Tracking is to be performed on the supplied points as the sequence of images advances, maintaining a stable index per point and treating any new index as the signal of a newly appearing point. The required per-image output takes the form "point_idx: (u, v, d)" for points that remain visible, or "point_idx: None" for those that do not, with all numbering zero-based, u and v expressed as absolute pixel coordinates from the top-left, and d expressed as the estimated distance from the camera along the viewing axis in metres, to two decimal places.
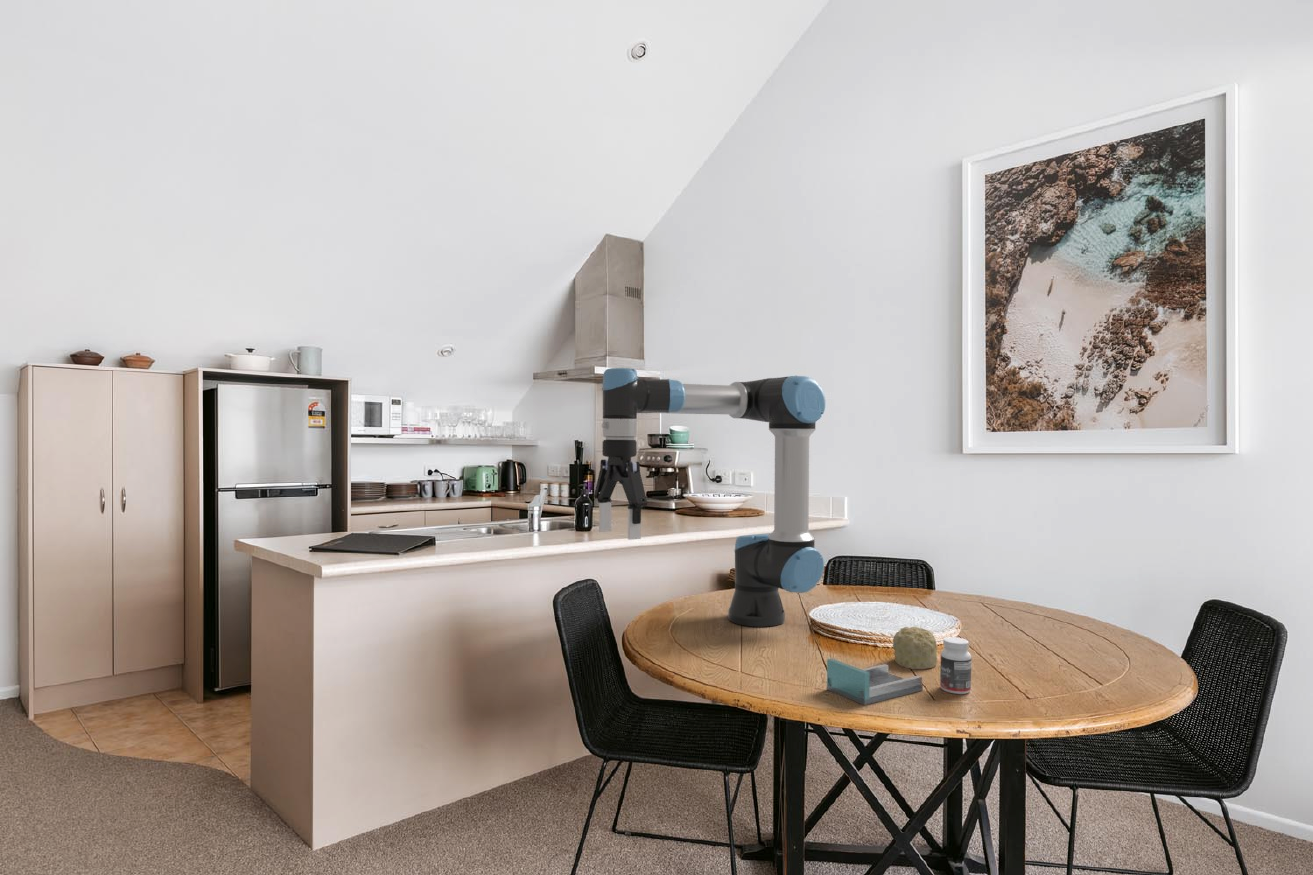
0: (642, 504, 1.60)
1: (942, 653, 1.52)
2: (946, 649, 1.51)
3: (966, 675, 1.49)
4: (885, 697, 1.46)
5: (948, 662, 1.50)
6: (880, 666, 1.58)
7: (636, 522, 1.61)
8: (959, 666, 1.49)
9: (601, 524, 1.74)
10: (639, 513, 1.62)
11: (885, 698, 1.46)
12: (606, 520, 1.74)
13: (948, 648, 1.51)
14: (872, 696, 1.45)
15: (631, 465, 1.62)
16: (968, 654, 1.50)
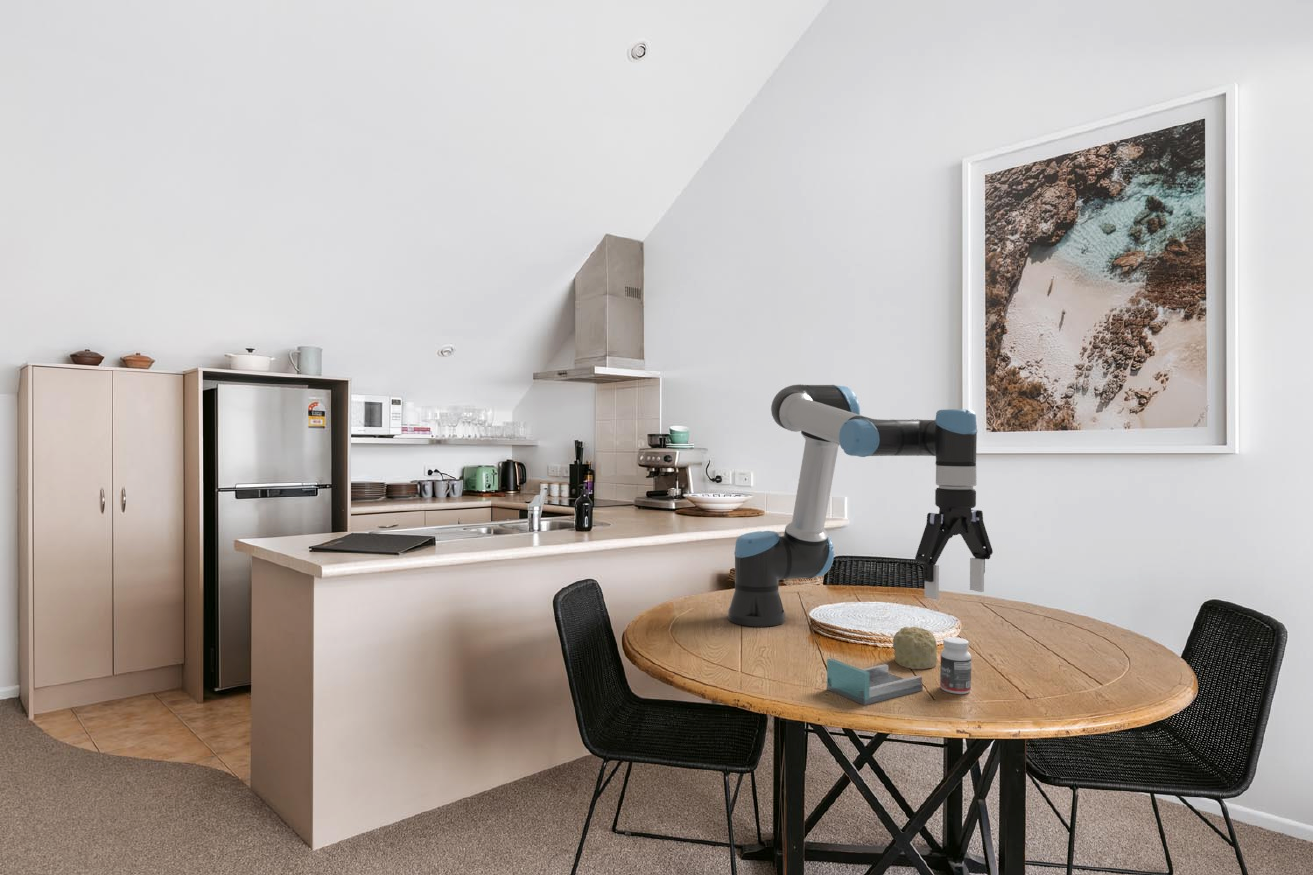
0: (920, 560, 1.46)
1: (942, 653, 1.52)
2: (946, 649, 1.51)
3: (966, 675, 1.49)
4: (885, 697, 1.46)
5: (948, 662, 1.50)
6: (880, 666, 1.58)
7: (925, 579, 1.48)
8: (959, 666, 1.49)
9: (971, 581, 1.56)
10: (928, 570, 1.47)
11: (885, 698, 1.46)
12: (976, 578, 1.55)
13: (948, 648, 1.51)
14: (872, 696, 1.45)
15: (928, 516, 1.49)
16: (968, 654, 1.50)
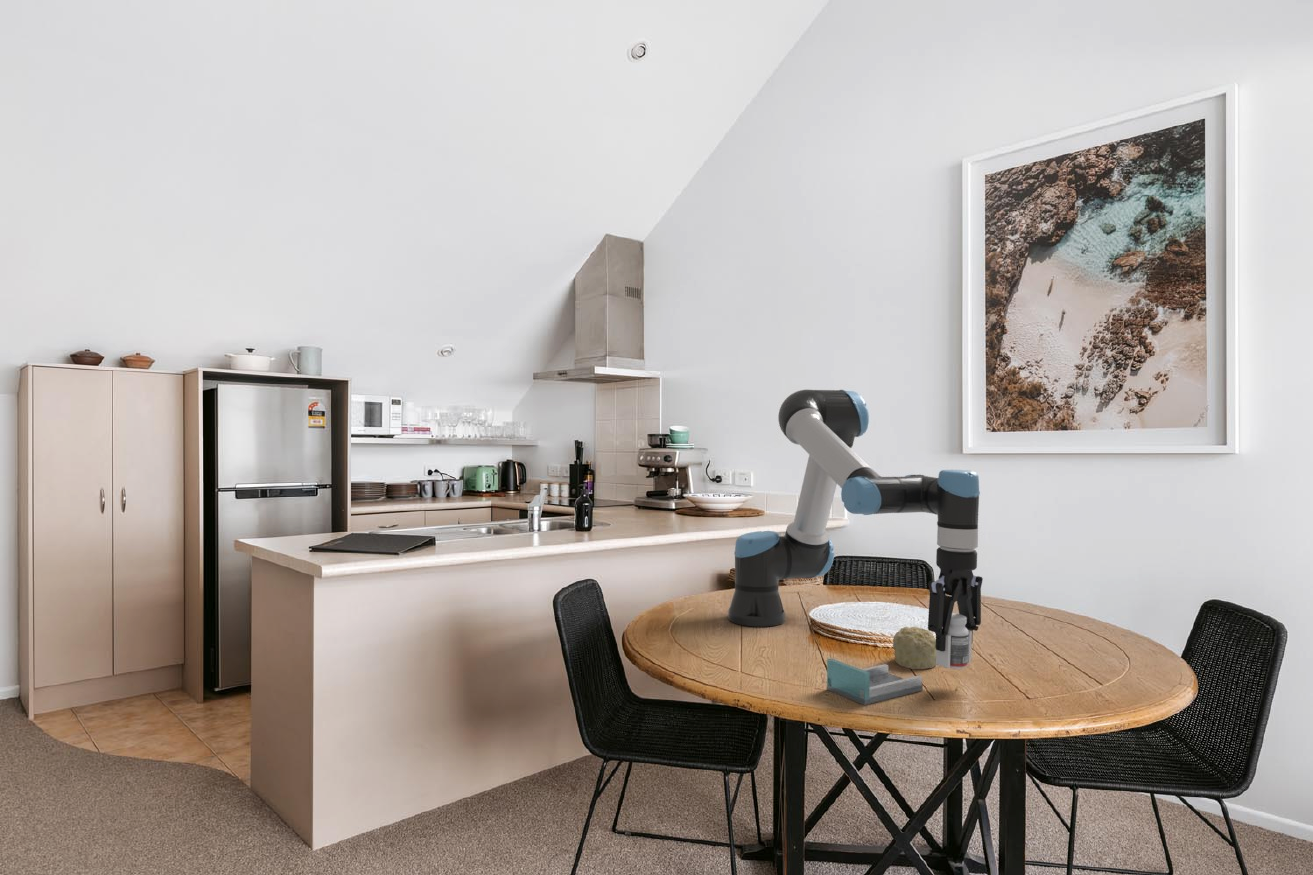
0: (933, 630, 1.49)
1: None
2: None
3: (963, 651, 1.50)
4: (885, 697, 1.46)
5: None
6: (880, 666, 1.58)
7: (937, 648, 1.50)
8: (957, 642, 1.50)
9: None
10: (940, 640, 1.49)
11: (885, 698, 1.46)
12: None
13: None
14: (872, 696, 1.45)
15: (930, 586, 1.49)
16: (965, 630, 1.51)
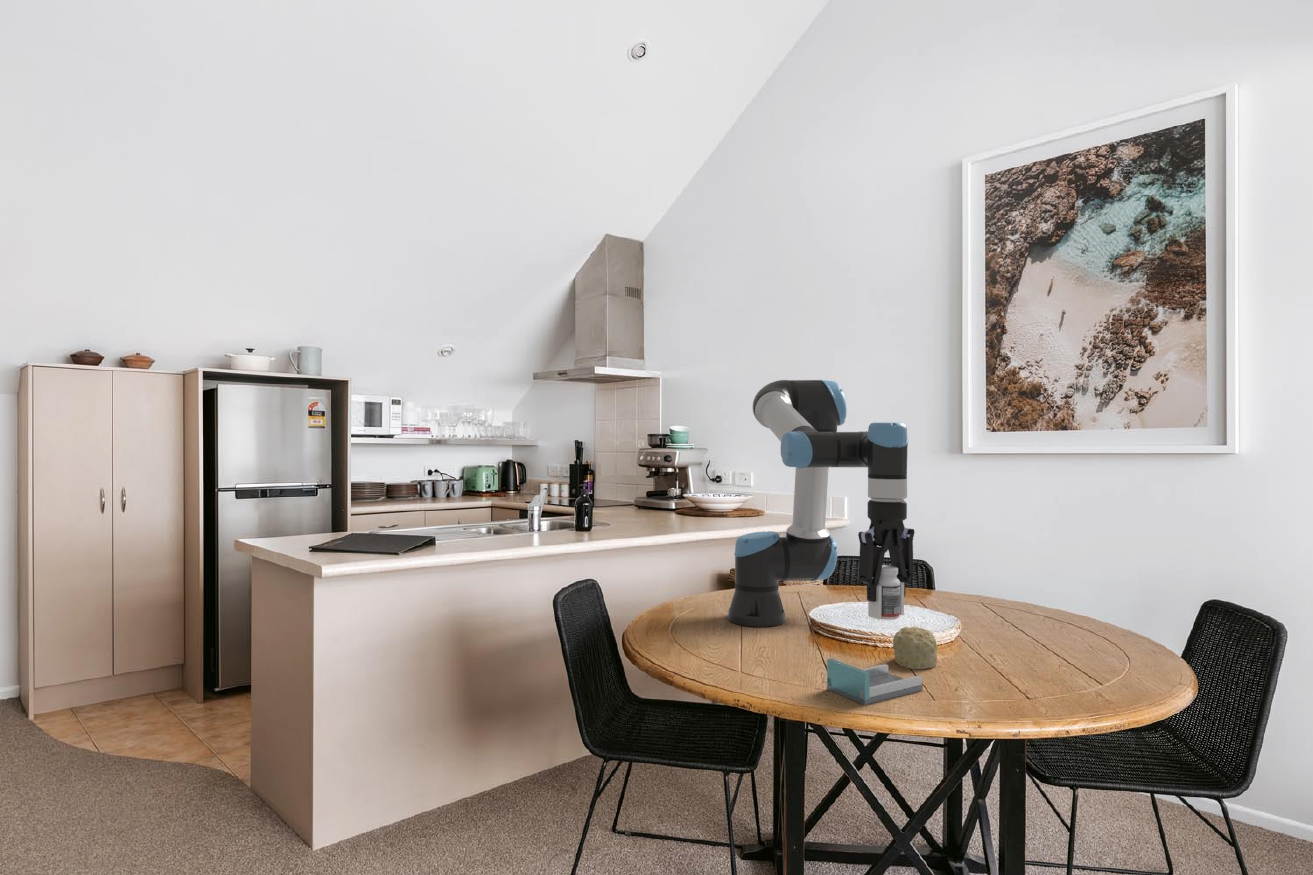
0: (863, 580, 1.49)
1: None
2: None
3: (894, 601, 1.50)
4: (885, 697, 1.46)
5: None
6: (880, 666, 1.58)
7: (868, 599, 1.51)
8: (888, 592, 1.50)
9: None
10: (870, 590, 1.50)
11: (885, 698, 1.46)
12: None
13: None
14: (872, 696, 1.45)
15: (860, 536, 1.50)
16: (897, 581, 1.51)
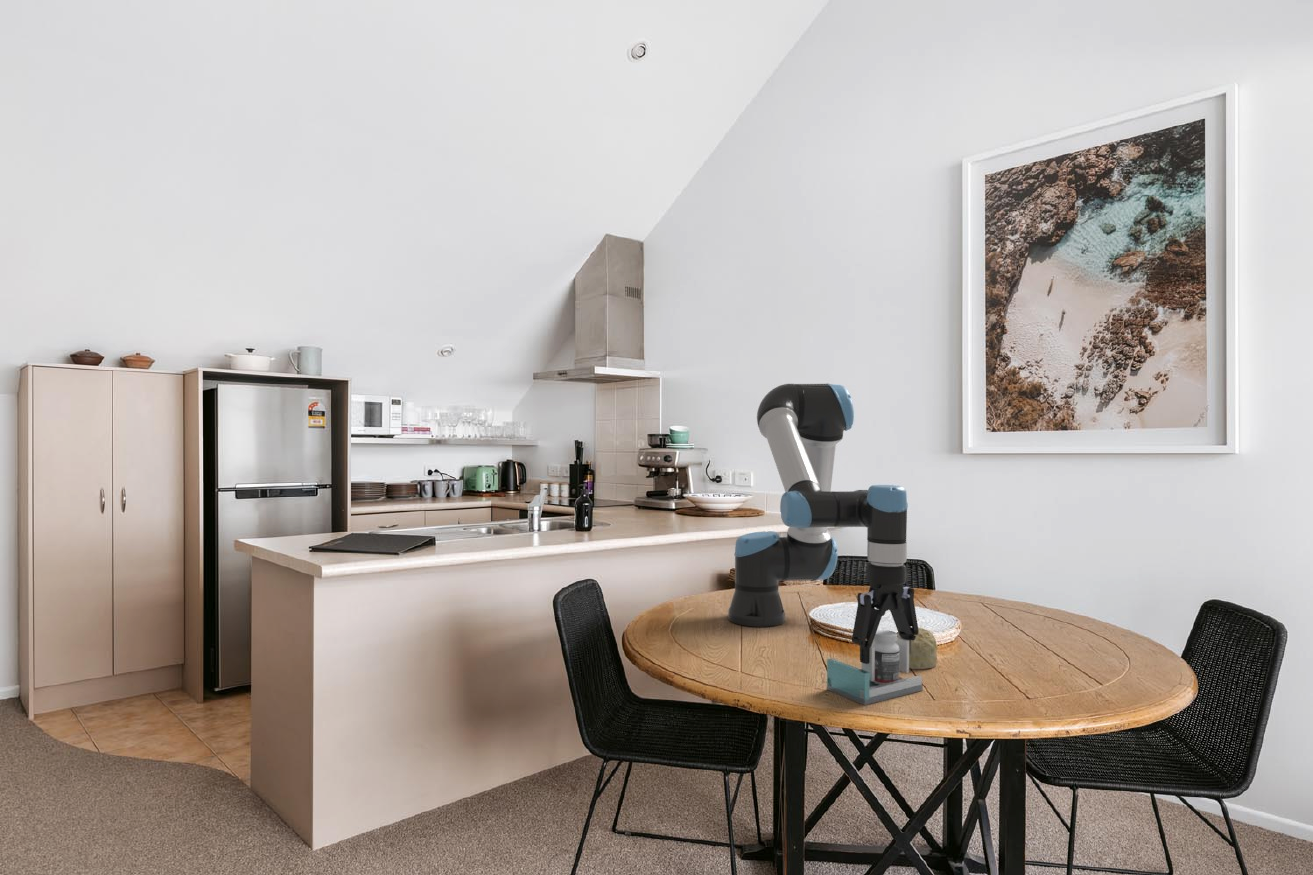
0: (856, 642, 1.49)
1: None
2: (875, 641, 1.53)
3: (894, 667, 1.51)
4: (885, 697, 1.46)
5: (876, 654, 1.52)
6: None
7: (861, 661, 1.50)
8: (887, 658, 1.51)
9: None
10: (864, 652, 1.49)
11: (885, 698, 1.46)
12: (901, 659, 1.55)
13: (876, 640, 1.52)
14: (872, 696, 1.45)
15: (858, 597, 1.50)
16: (896, 647, 1.51)
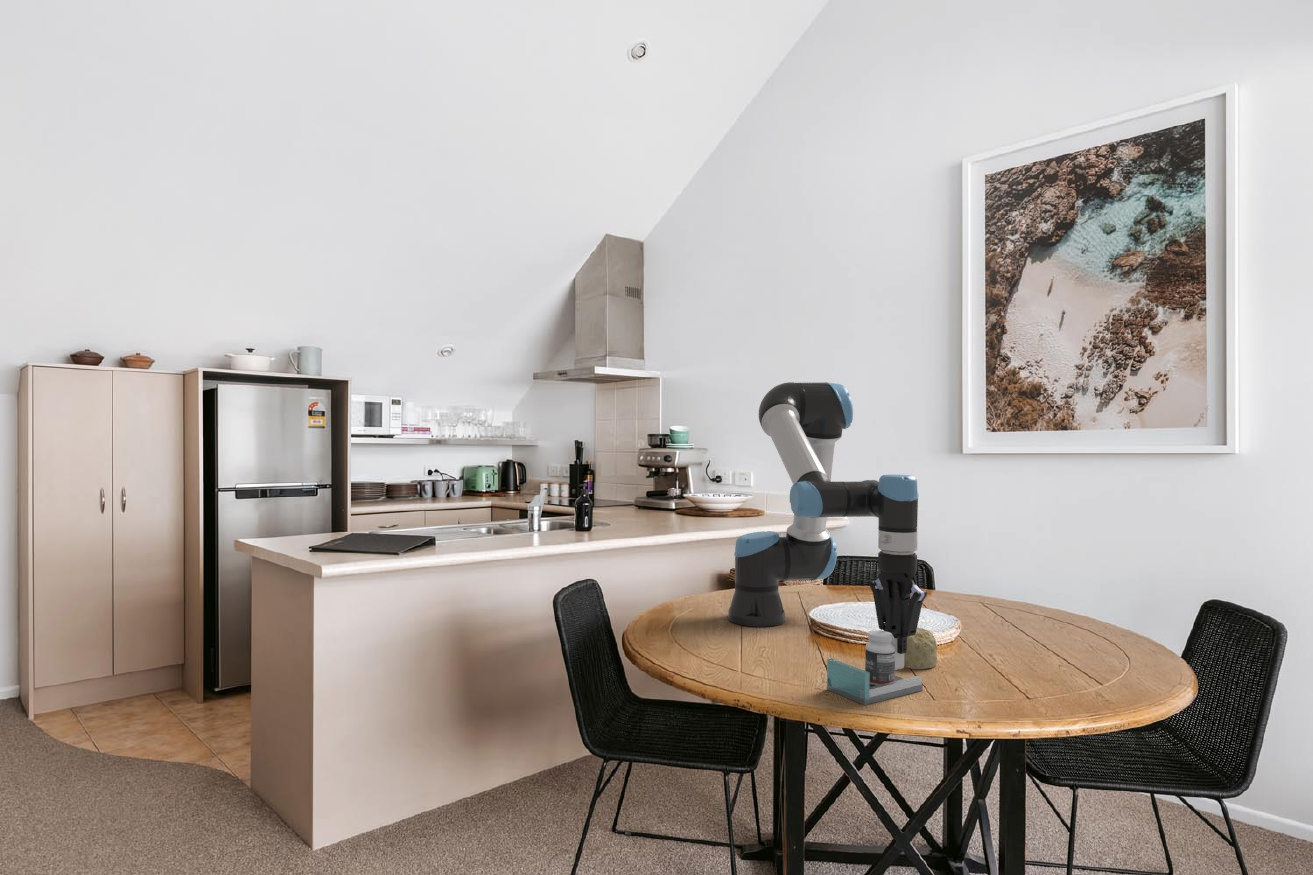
0: (911, 634, 1.52)
1: (866, 646, 1.53)
2: (870, 642, 1.52)
3: (889, 668, 1.50)
4: (885, 697, 1.46)
5: (871, 654, 1.51)
6: None
7: (902, 652, 1.53)
8: (882, 659, 1.50)
9: None
10: (905, 642, 1.53)
11: (885, 698, 1.46)
12: None
13: (872, 641, 1.52)
14: (872, 696, 1.45)
15: (919, 597, 1.49)
16: (891, 647, 1.51)
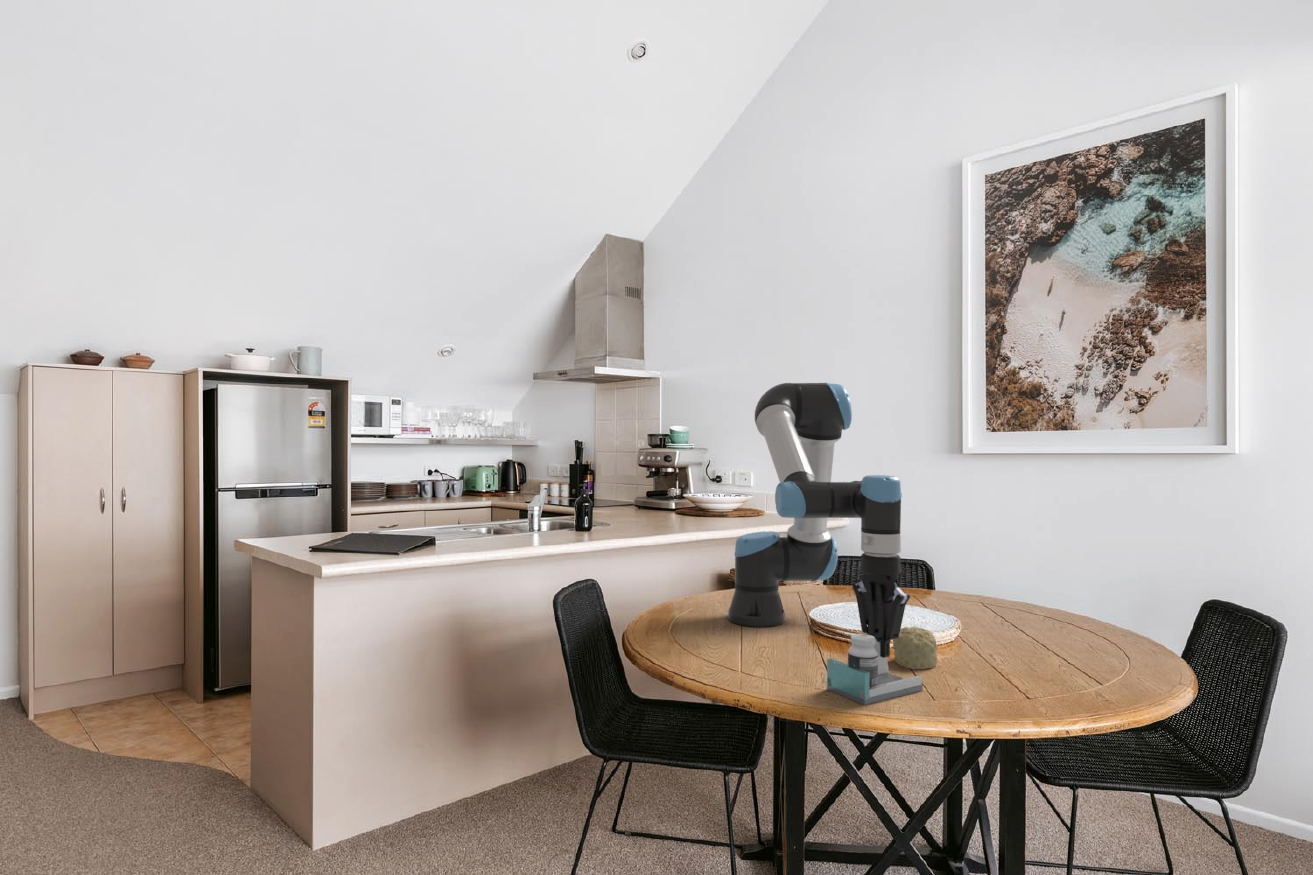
0: (894, 637, 1.49)
1: (849, 650, 1.50)
2: (853, 646, 1.50)
3: (872, 672, 1.48)
4: (885, 697, 1.46)
5: (854, 659, 1.48)
6: None
7: (885, 656, 1.50)
8: (865, 663, 1.47)
9: None
10: (888, 646, 1.51)
11: (885, 698, 1.46)
12: None
13: (854, 645, 1.49)
14: (872, 696, 1.45)
15: (901, 600, 1.46)
16: (874, 651, 1.48)
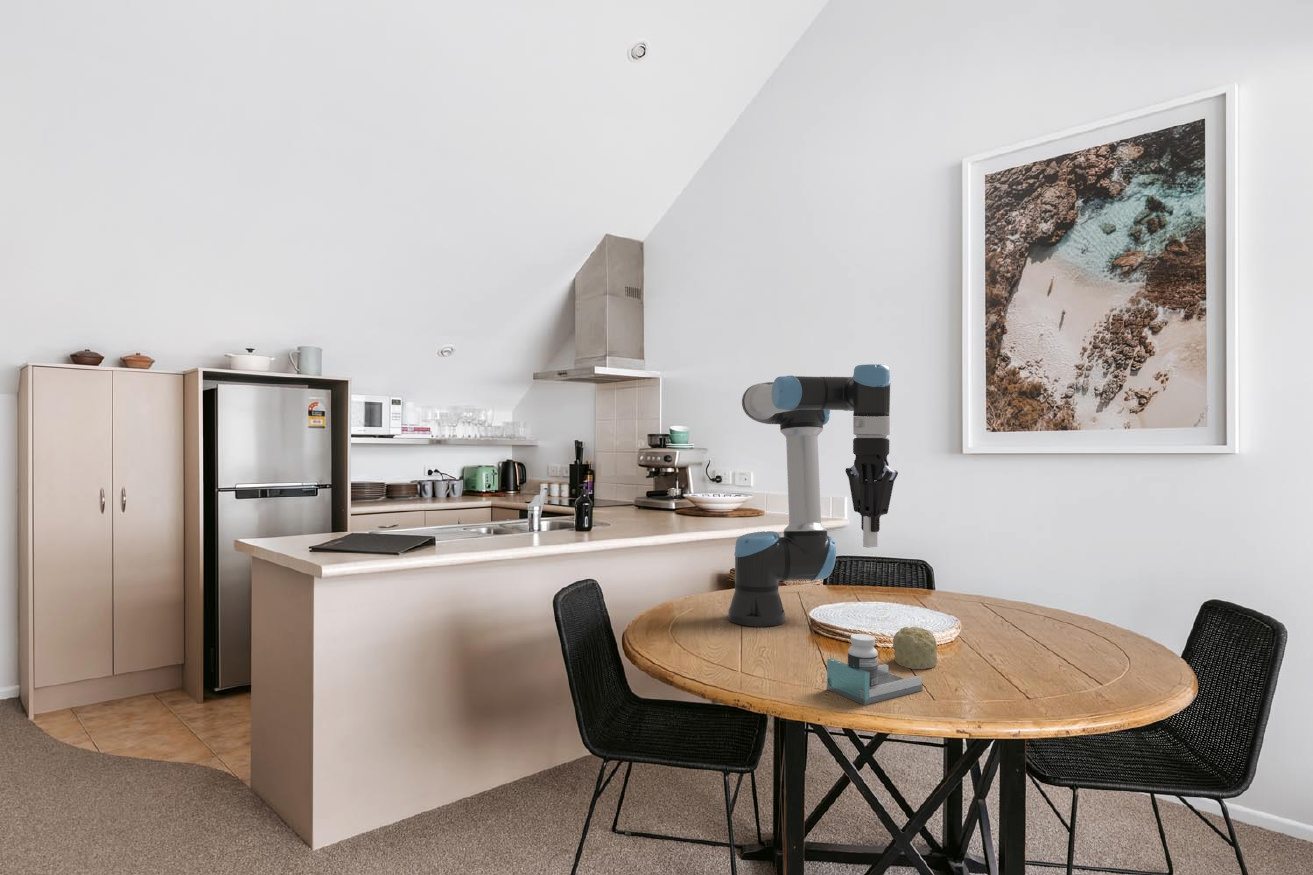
0: (883, 512, 1.61)
1: (849, 650, 1.50)
2: (852, 646, 1.50)
3: (872, 672, 1.48)
4: (885, 697, 1.46)
5: (853, 659, 1.48)
6: (880, 666, 1.58)
7: (875, 530, 1.63)
8: (865, 663, 1.47)
9: (866, 539, 1.64)
10: (878, 521, 1.63)
11: (885, 698, 1.46)
12: None
13: (854, 645, 1.49)
14: (872, 696, 1.45)
15: (890, 476, 1.59)
16: (874, 651, 1.48)
